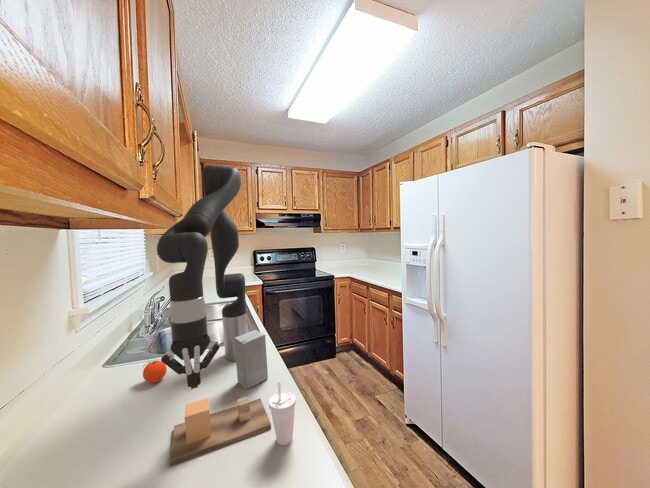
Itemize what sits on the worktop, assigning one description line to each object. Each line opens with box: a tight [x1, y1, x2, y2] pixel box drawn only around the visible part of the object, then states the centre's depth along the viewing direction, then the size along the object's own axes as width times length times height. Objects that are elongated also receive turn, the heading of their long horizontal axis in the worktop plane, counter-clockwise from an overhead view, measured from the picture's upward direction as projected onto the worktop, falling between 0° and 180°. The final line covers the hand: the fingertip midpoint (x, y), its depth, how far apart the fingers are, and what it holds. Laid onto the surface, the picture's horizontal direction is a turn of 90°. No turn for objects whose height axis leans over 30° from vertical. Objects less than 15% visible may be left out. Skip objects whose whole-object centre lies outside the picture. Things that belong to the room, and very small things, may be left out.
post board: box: [169, 396, 272, 467], centre depth 68 cm, size 12×22×6 cm, turn 116°
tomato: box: [142, 359, 168, 384], centre depth 92 cm, size 8×7×7 cm
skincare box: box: [234, 329, 269, 390], centre depth 88 cm, size 8×7×16 cm
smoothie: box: [268, 381, 297, 446], centre depth 63 cm, size 6×6×14 cm
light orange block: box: [184, 397, 211, 444], centre depth 65 cm, size 5×5×7 cm
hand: (194, 386), depth 65 cm, fingers closed
